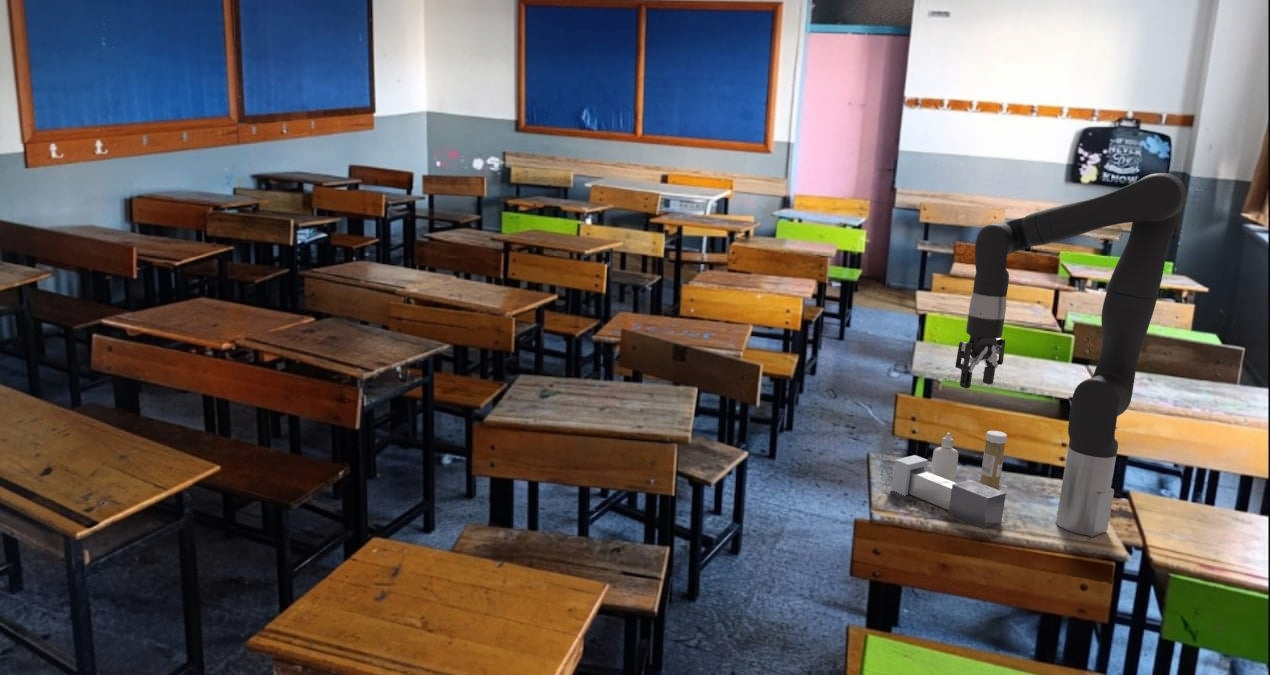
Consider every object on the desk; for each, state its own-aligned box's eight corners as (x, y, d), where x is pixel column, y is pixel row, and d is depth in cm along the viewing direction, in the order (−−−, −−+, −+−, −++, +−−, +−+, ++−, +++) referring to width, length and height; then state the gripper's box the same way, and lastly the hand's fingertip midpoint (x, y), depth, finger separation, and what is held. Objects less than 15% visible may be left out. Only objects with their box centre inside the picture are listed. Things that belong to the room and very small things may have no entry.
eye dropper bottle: (931, 476, 230) (937, 428, 227) (955, 480, 228) (962, 433, 225) (928, 481, 226) (935, 433, 223) (953, 486, 224) (959, 437, 221)
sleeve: (1001, 522, 204) (1005, 493, 202) (983, 528, 200) (988, 498, 198) (965, 508, 210) (970, 479, 209) (948, 513, 207) (952, 484, 205)
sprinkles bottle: (1002, 491, 223) (1011, 436, 220) (984, 490, 222) (992, 435, 219) (993, 483, 227) (1001, 430, 224) (975, 483, 226) (983, 429, 224)
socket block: (923, 490, 220) (928, 460, 218) (904, 496, 216) (908, 464, 214) (910, 485, 223) (914, 455, 221) (891, 490, 218) (895, 459, 217)
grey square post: (971, 511, 208) (974, 490, 207) (960, 515, 206) (963, 493, 205) (911, 487, 220) (914, 467, 219) (900, 490, 218) (903, 469, 217)
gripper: (982, 319, 202) (971, 393, 205) (1020, 315, 210) (1009, 386, 214) (952, 313, 208) (942, 384, 211) (990, 309, 216) (980, 378, 220)
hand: (976, 385), depth 213 cm, fingers open, 8 cm apart
